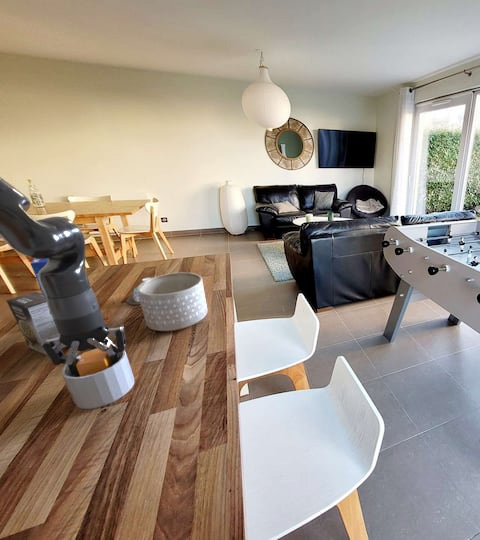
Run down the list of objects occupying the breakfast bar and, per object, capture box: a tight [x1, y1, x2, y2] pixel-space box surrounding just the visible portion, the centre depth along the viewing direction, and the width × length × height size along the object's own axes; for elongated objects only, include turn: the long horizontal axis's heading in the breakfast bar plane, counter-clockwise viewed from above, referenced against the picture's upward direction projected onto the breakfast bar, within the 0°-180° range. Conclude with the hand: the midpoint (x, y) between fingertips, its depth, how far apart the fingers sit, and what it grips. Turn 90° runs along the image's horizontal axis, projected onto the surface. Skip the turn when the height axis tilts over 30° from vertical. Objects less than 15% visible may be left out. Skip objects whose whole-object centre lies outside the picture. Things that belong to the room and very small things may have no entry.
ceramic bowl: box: [61, 348, 136, 410], centre depth 70 cm, size 11×11×9 cm
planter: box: [136, 272, 209, 332], centre depth 99 cm, size 19×19×14 cm
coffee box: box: [5, 291, 67, 356], centre depth 83 cm, size 9×6×16 cm
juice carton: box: [76, 349, 112, 377], centre depth 69 cm, size 5×5×10 cm
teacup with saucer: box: [126, 277, 152, 307], centre depth 114 cm, size 12×12×8 cm
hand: (98, 369), depth 69 cm, fingers open, 6 cm apart
